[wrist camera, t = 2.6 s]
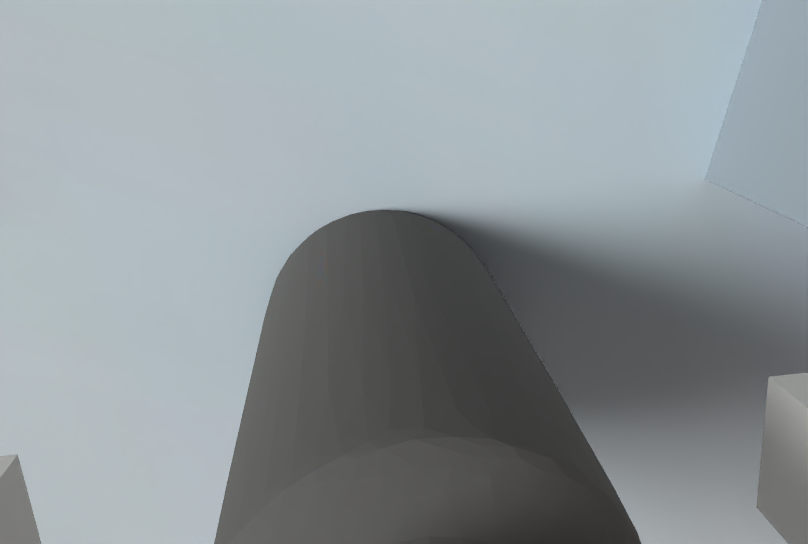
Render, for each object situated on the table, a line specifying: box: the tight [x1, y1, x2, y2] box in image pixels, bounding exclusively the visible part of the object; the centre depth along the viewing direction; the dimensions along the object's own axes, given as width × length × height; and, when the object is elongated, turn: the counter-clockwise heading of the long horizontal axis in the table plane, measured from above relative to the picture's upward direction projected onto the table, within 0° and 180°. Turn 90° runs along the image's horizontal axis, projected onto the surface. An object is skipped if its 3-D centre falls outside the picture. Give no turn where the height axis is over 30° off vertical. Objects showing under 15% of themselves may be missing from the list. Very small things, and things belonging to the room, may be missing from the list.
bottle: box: [214, 210, 641, 544], centre depth 12 cm, size 6×6×15 cm
